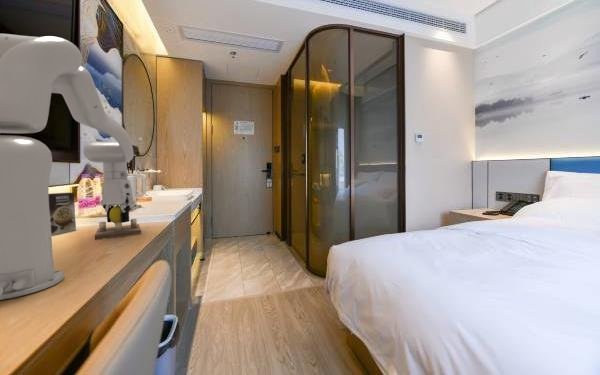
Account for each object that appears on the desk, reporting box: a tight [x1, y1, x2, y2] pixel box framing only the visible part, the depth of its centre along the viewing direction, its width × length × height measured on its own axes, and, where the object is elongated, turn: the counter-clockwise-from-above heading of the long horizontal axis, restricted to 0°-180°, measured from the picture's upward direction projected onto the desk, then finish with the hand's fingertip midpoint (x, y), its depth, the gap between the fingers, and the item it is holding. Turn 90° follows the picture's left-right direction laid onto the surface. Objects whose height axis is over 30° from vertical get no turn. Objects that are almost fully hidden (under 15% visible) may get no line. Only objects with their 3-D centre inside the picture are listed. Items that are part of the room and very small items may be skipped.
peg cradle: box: [94, 218, 142, 241], centre depth 100 cm, size 14×14×5 cm
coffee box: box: [48, 192, 77, 237], centre depth 101 cm, size 9×6×16 cm
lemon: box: [109, 205, 123, 224], centre depth 100 cm, size 6×6×8 cm
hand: (118, 221), depth 100 cm, fingers closed on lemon, 5 cm apart
